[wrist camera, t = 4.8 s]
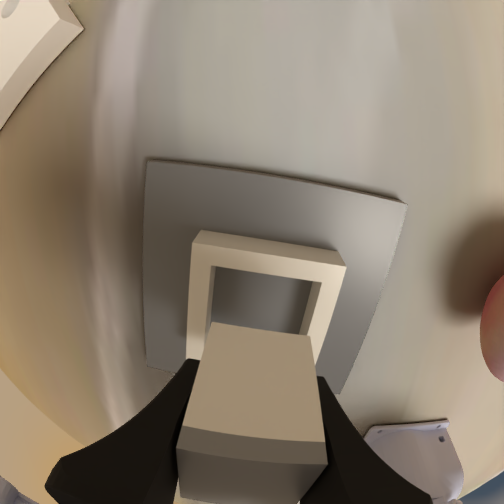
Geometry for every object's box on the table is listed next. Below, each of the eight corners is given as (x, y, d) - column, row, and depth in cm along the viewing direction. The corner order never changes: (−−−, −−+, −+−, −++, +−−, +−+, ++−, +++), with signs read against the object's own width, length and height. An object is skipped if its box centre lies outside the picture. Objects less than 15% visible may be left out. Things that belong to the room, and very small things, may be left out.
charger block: (310, 335, 12) (327, 464, 7) (288, 399, 14) (291, 509, 8) (211, 321, 12) (176, 447, 7) (206, 387, 14) (180, 497, 8)
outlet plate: (400, 200, 16) (423, 214, 13) (337, 384, 21) (343, 414, 18) (153, 159, 16) (131, 165, 13) (151, 357, 21) (138, 385, 18)
